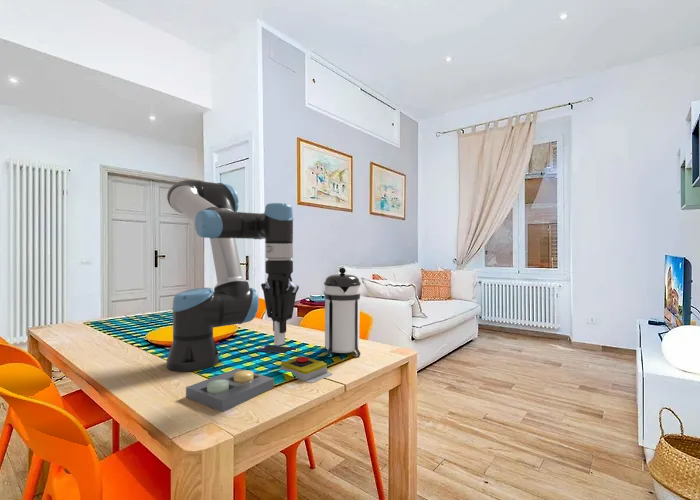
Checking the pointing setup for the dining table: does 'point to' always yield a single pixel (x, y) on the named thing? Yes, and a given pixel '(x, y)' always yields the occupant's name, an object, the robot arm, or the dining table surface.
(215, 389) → the sage button
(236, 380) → the tan button
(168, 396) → the dining table surface
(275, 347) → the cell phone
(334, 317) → the coffee press
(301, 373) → the emergency button
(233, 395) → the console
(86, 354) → the dining table surface
